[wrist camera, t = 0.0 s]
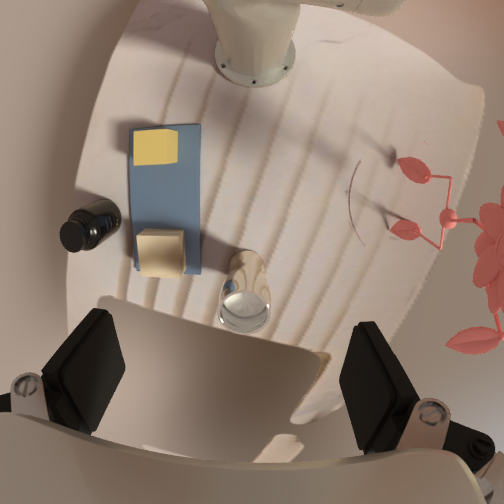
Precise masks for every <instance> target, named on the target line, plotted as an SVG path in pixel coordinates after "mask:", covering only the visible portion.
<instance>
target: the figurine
mask: <svg viewBox="0 0 504 504" xmlns="http://www.w3.org/2000/svg"><path fill="white" fill-rule="evenodd" d="M497 124H498V126H499V128H500V130H501V132H502V134H503V136H504V121H497ZM426 144H427V143H426ZM397 160H398V163H399V165H400V167H401V169H402V171H403V173H404V174H405V175H406V176H407V177H408V178H409V179H410V180H412V181H414V182H416V183H421V184H426V183H428V182H430V179H432V177H434V178H446V179H450V183H449V190H448V197H447V203H446V209H444V210H443V211H442V212H441V214H440V223H441V225H442V233H441V241H440V247H438V246H437V245H436V244H434V243H433V242H431V241H430V240H429V239H427V238H426V237H424V236H423V235H422V234H421V230H420V229H421V228H420V227H419V226H418V224H417V223H414V222H412V221H409V220H401V221H398V222H397V223H396V224H395V225H394V226H393V227H392V228H391V229H390V231H391V232H392V233H393V234H395V235H396V236H398V237H400V238H401V239H405V240H414V239H416V238H418V237H419V236H421V237H422V238H424V239H425V240H426V241H428V242H429V243H430V244H432V245H433V246H435V247H436V248H437V249H439V250H441V249H442V242H443V235H444V228H447V229H451V228H453V227H455V225H456V223H457V222H463V223H475V224H476V225H477V226H479V227H480V228H481V229H483V230H484V232H483V233H481V234H480V235H479V237H478V238H477V240H476V242H475V245H474V248H475V252H476V254H477V256H478V257H479V259H478V261H477V263H476V266H475V269H474V274H473V283H474V284H475V286H476V287H479V288H482V287H483V286H485V287H486V292H487V295H488V306H489V309H490V312H491V313H493V314H494V318H495V322H496V325H497V329H498V332H497V331H495V330H494V329H491V328H485V327H472V328H468V329H465V330H463V331H460V332H458V333H457V334H456V335H455V336H454V337H452V338H451V339H450V340H449V341H448V342H447V343H446V346H447V347H449V348H451V349H453V350H456V351H459V352H461V353H464V354H481V353H486V352H488V351H490V350H492V349H494V348H496V347H497V345H498V343H499V342H500V341H502V340H504V333H503V332H502V328H501V325H500V321H499V318H498V314H497V312H498V311H499V310H500V309H501V308H502V311H503V312H504V186H503V187H502V191H501V206H500V205H498V204H495V203H487V204H484V205H483V206H481V207H480V212H479V213H480V220H481V222H479V221H478V220H476V219H475V218H462V219H457V214H456V213H455V211H454V210H452V209H448V205H449V199H450V192H451V184H452V177H451V176H440V175H431V171H430V170H429V168H428V167H427V166H426V164H425V163H423V162H422V161H420V160H419V159H416V158H412V157H407V158H400V159H397ZM400 160H401V161H400ZM360 163H361V162H360ZM356 170H357V169H356ZM354 175H355V174H354ZM353 178H354V177H353ZM352 181H353V180H352ZM351 185H352V184H351ZM350 190H351V189H350ZM349 204H350V198H349ZM350 214H351V213H350ZM351 218H352V217H351ZM354 228H355V227H354ZM359 238H360V237H359ZM365 246H366V245H365Z"/></svg>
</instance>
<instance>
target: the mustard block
mask: <svg viewBox="0 0 504 504" xmlns="http://www.w3.org/2000/svg"><path fill="white" fill-rule="evenodd" d="M176 162H178V131H174V130H170V129H155V130H143V131H134V166H137V165H157V164H170V163H176Z"/></svg>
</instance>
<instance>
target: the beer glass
mask: <svg viewBox="0 0 504 504" xmlns="http://www.w3.org/2000/svg"><path fill="white" fill-rule="evenodd" d="M229 269H230V273H229V274H228V276H227V277H226V279H225V281H224V283H223V285H222V287H221V291H220V295H219V304H218V317H219V320H220V322H221V323H222V325H223V326H224V327H225V328H226V329H228V330H229V331H231V332H233V333H236V334H241V335H248V334H253V333H256V332H258V331H260V330H261V329H263V328H264V327H265V326H266V325H267V323H268V321H269V319H270V307H271V295H270V289H269V286H268V283H267V280H266V278H265V276H264V275H263V274H264V272H265V263H264V260H263V259H262V257H261V256H260V255H259V254H257V253H256V252H253V251H249V250H245V251H241V252H238V253H237V254H235V255H234V256H233V258H232V259H231V261H230V266H229Z"/></svg>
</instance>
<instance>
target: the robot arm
mask: <svg viewBox="0 0 504 504" xmlns="http://www.w3.org/2000/svg"><path fill="white" fill-rule="evenodd" d="M202 1H203V2H204V3H205V5H206V7H207V9H208V11H209V13H210V16H211V19H212V22H213V24H214V27H215V30H216V33H217V36H218V41H217V43H216V46H215V60H216V64H217V66H218V68H219V70H220V71H221V72H222V74H223V75H224V76H225V77H226V78H227V79H229V80H230V81H232V82H234V83H236V84H238V85H241V86H245V87H253V88H258V87H265V86H269V85H272V84H274V83H277V82H279V81H280V80H281V79H283V78H284V77H285V76H286V75H287V74H288V73H289V72H290V70H291V68H292V67H293V64H294V61H295V57H296V50H295V46H294V43H293V41H292V36H293V33H294V30H295V27H296V24H297V21H298V18H299V14H300V4H307V5H314V6H320V7H326V8H332V9H337V10H342V11H347V12H352V13H357V14H362V15H367V16H374V17H384V16H389V15H391V14H393V13H395V12H396V11H397V10H399V9H400V8H401V7H402V5H403V4H404V2H405V1H406V0H202ZM223 66H225V68H222V67H223ZM284 68H286V69H287V70H284ZM252 82H255V84H252ZM41 371H42V373H43V375H42V376H41V377H40V376H39V375H37V374H35V373H31V372H29V373H24V374H21V375H19V376H18V377H16V379H15V380H14V381H13V382H12V384H11V392H10V393H6V394H3V395H0V504H504V454H503V453H502V452H501V451H499V452H498V453H496V452H495V445H494V442H493V440H492V439H491V438H490V437H489V436H488V435H486V434H484V433H482V432H479V431H476V430H474V429H471V428H469V427H466V426H463V425H461V424H458V423H456V422H453V421H451V420H450V417H451V414H450V411H449V408H448V407H447V406H446V405H445V404H444V403H443V402H442V401H440V400H438V399H434V398H424V399H422V400H420V398H419V396H418V395H417V393H416V391H415V389H414V387H413V386H412V383H411V382H410V380H409V378H408V376H407V375H406V373H405V371H404V369H403V367H402V366H401V364H400V362H399V360H398V359H397V357H396V356H395V354H394V353H393V351H392V350H391V348H390V346H389V345H388V343H387V341H386V340H385V338H384V336H383V335H382V333H381V331H380V330H379V328H378V326H377V325H376V323H375V322H373V321H369V322H359V324H358V326H354V328H353V332H352V336H351V339H350V343H349V347H348V350H347V354H346V357H345V360H344V364H343V367H342V370H341V374H340V378H339V383H340V387H341V390H342V394H343V397H344V400H345V403H346V407H347V410H348V413H349V417H350V420H351V424H352V427H353V431H354V434H355V438H356V441H357V445H358V448H359V450H363V452H364V455H362V456H355V457H348V458H340V459H331V460H320V461H309V462H290V463H244V462H226V461H213V460H203V459H195V458H187V457H180V456H174V455H168V454H162V453H157V452H152V451H147V450H142V449H138V448H134V447H130V446H126V445H121V444H118V443H114V442H111V441H107V440H103V439H100V438H97V437H94V436H91V433H92V431H93V432H94V431H96V429H97V427H98V425H99V423H100V421H101V419H102V417H103V415H104V412H105V410H106V408H107V406H108V404H109V402H110V400H111V398H112V396H113V394H114V392H115V390H116V388H117V386H118V384H119V382H120V380H121V378H122V376H123V374H124V372H125V363H124V359H123V356H122V352H121V349H120V345H119V341H118V338H117V334H116V330H115V326H114V322H113V317H112V315H111V314H109V312H108V311H107V310H105V309H98V308H93V309H92V310H91V311H90V312H89V313H88V314H87V316H86V317H85V318H84V319H83V320H82V321H81V322H80V324H79V325H78V326H77V327H76V328H75V329H74V331H73V332H72V333H71V334H70V335H69V337H68V338H67V339H66V340H65V341H64V343H63V344H62V345H61V346H60V347H59V349H58V350H57V351H56V352H55V354H54V355H53V356H52V357H51V359H50V360H49V361H48V362H47V364H46V365H45V366H44V368H43V369H42V370H41Z"/></svg>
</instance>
